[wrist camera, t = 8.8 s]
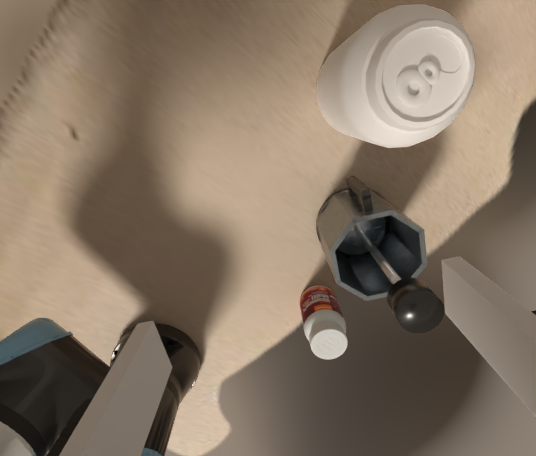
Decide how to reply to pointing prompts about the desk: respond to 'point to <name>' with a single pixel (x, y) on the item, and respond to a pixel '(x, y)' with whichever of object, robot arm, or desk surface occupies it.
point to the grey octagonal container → (391, 246)
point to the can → (398, 77)
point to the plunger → (396, 280)
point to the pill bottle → (323, 322)
